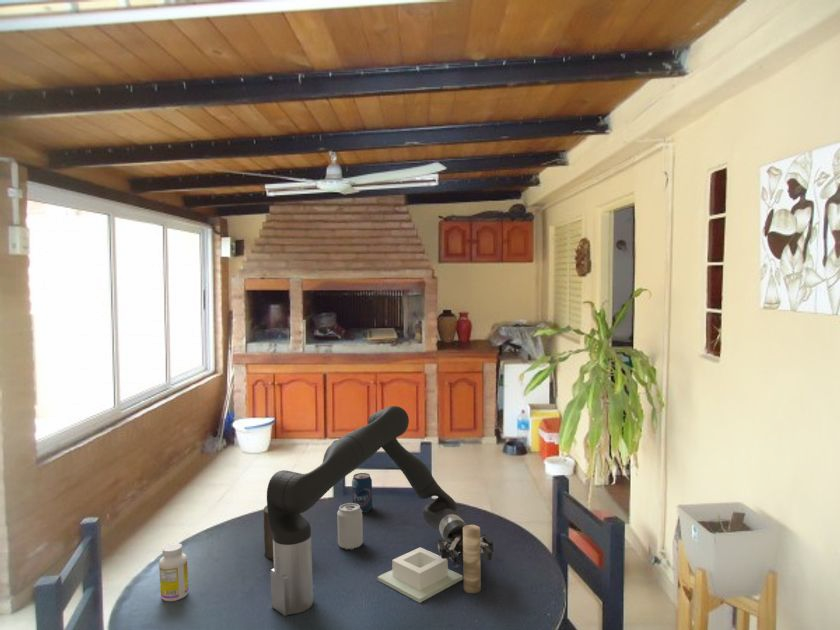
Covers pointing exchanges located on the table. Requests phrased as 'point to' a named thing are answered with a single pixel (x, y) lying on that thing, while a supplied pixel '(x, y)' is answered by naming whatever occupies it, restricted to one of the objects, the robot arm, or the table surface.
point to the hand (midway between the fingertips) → (473, 558)
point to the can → (350, 526)
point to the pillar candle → (268, 536)
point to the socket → (420, 574)
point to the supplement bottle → (173, 573)
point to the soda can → (362, 491)
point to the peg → (471, 559)
